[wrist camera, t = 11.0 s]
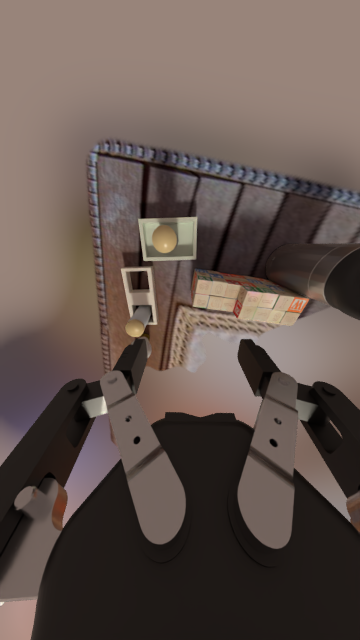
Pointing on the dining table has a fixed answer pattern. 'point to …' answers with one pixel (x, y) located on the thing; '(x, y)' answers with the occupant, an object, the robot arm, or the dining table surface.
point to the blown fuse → (164, 239)
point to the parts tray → (182, 228)
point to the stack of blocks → (246, 297)
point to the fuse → (139, 321)
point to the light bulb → (146, 337)
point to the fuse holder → (141, 292)
